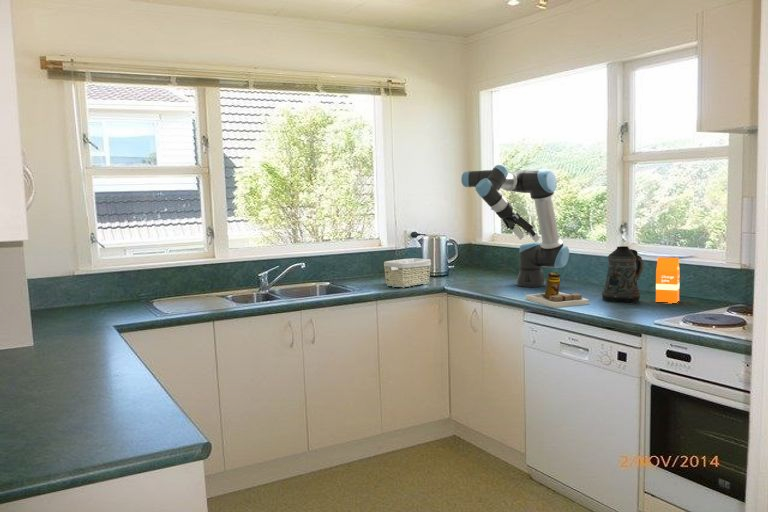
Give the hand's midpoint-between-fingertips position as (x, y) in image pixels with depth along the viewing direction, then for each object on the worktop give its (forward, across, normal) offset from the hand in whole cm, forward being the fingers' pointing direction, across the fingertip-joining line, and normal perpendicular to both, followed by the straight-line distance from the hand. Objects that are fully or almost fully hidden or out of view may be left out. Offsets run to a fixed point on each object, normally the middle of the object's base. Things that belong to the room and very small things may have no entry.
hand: (529, 238), depth 293 cm
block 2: (+26, +17, -14) cm, 34 cm away
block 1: (+23, +17, -18) cm, 34 cm away
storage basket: (-1, -75, -46) cm, 88 cm away
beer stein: (+47, +19, +6) cm, 51 cm away
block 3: (+30, +17, -10) cm, 36 cm away
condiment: (+26, +4, -14) cm, 29 cm away
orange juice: (+57, +31, +18) cm, 67 cm away
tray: (+27, +10, -14) cm, 32 cm away
